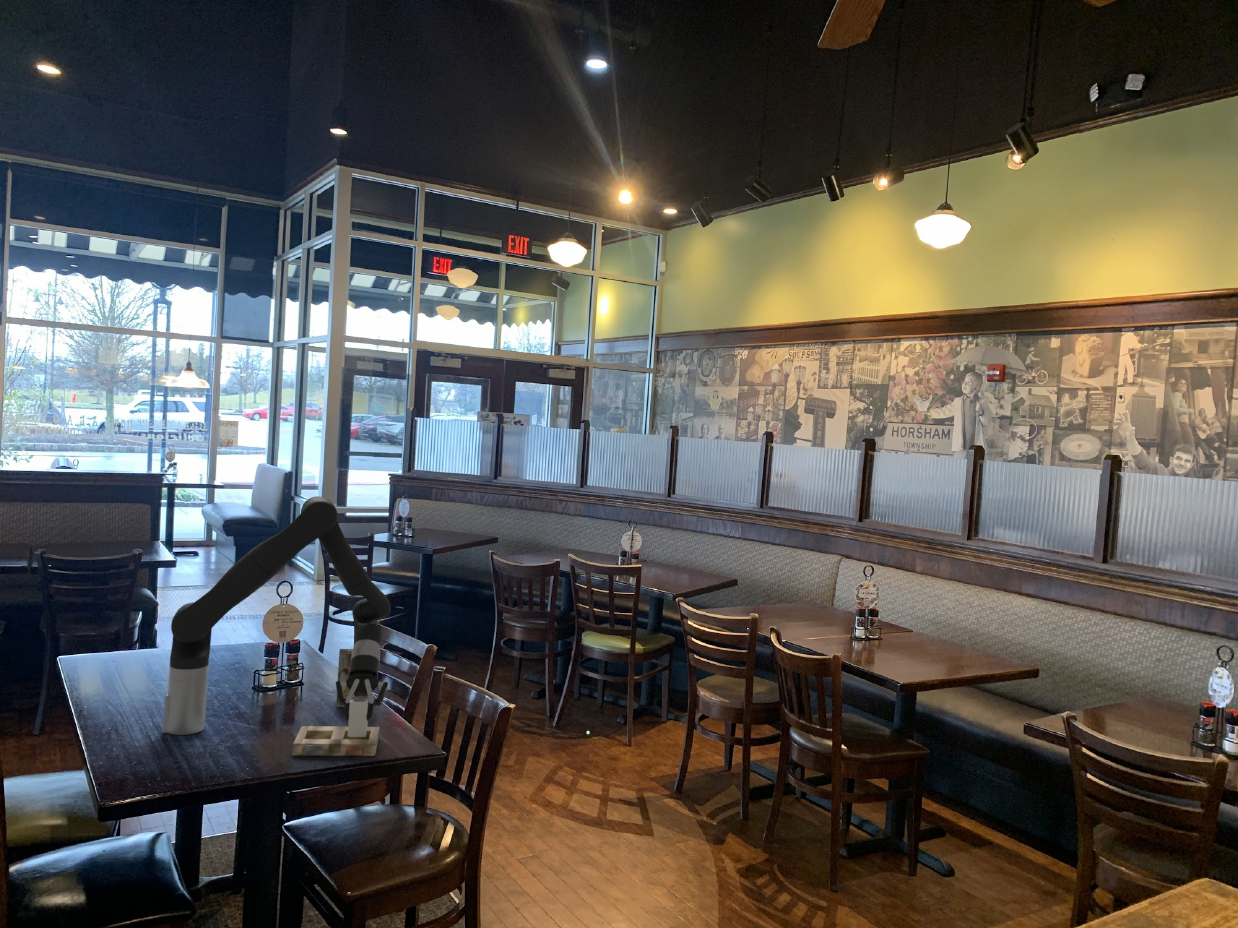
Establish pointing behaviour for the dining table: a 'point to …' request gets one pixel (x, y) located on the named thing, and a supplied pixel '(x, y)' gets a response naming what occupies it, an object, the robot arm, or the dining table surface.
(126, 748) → the dining table surface
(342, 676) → the coffee box
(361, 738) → the socket board
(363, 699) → the white tall rectangular block
